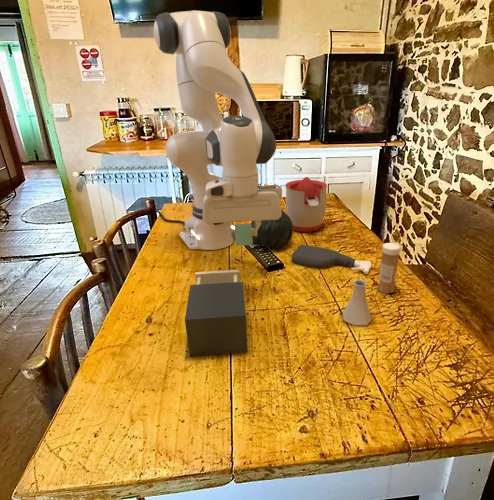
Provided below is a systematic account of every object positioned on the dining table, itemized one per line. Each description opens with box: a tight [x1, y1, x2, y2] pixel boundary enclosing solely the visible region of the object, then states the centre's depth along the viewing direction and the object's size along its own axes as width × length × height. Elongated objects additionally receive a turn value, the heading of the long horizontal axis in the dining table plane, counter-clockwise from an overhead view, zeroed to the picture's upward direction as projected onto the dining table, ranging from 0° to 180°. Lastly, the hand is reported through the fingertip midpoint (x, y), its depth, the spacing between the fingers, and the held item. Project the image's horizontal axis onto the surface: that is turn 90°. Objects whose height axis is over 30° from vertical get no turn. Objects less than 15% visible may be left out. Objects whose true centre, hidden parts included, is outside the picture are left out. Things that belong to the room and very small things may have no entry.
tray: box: [194, 269, 241, 285], centre depth 101 cm, size 18×11×8 cm, turn 6°
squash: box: [250, 208, 294, 249], centre depth 137 cm, size 14×15×15 cm
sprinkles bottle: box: [377, 242, 401, 294], centre depth 107 cm, size 5×5×13 cm
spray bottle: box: [291, 244, 372, 275], centre depth 125 cm, size 3×11×24 cm
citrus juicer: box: [284, 176, 328, 233], centre depth 150 cm, size 16×17×20 cm
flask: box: [342, 279, 373, 326], centre depth 96 cm, size 7×7×10 cm
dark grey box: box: [184, 281, 249, 358], centre depth 91 cm, size 15×13×10 cm
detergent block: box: [233, 223, 254, 247], centre depth 104 cm, size 4×4×4 cm
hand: (243, 236), depth 104 cm, fingers closed on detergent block, 4 cm apart
